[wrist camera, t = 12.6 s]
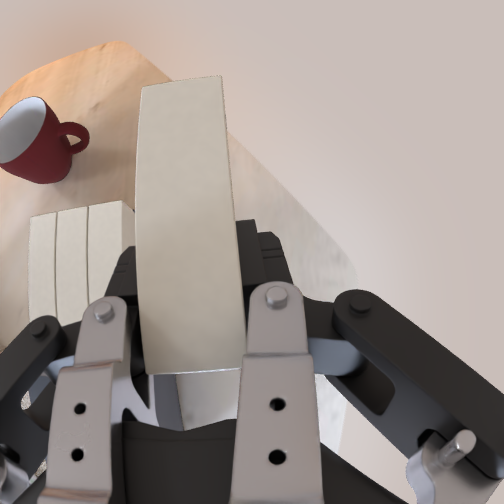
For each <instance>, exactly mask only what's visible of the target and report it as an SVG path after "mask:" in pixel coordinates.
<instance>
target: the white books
mask: <svg viewBox="0 0 504 504" xmlns="http://www.w3.org/2000/svg"><path fill="white" fill-rule="evenodd" d="M129 246H135V210H132V209H131V208H130V207H129V206H128V205H127V204H126V203H125V202H124V201H123V200H119V201H113V202H107V203H101V204H95V205H90V206H89V207H88V206H84V207H78V208H73V209H67V210H62V211H58V212H52V213H47V214H42V215H37V216H32V217H31V221H30V234H29V255H28V299H29V319H30V322H32V321H33V320H34V319H36V318H38V317H40V316H44V315H52V316H54V317H56V318H57V319H58V321H59V323H60V324H61V326H65V325H68V324H71V323H75V322H78V321H81V320H82V317H83V314H84V311H85V310H86V308H87V307H88V306H89V305H90V304H91V303H93V302H94V301H96V300H98V299H100V298H103V297H104V294H105V292H106V289H107V286H108V284H109V281H110V279H111V276H112V274H113V271H114V269H115V266H117V265H116V264H117V261H118V259H119V257H120V255H121V254H122V253H123V252H124V251H125V250H126V249H127V248H128V247H129Z"/></svg>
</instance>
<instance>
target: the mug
mask: <svg viewBox="0 0 504 504" xmlns="http://www.w3.org/2000/svg"><path fill="white" fill-rule="evenodd" d="M66 135H74V136H77V137H79V138H80V139H81V141H80V142H78V143H76V144H74V145H72V146H71V145H70V142H69V140H68V138H67V136H66ZM89 139H90V137H89V133H88V130H87V129H86V128H85V127H84V126H82V125H80V124H78V123H75V122H64V123H60V122H59V120H58V118H57V116H56V115H55V113H54V112H53V110H52V109H51V108H50V107H49V106H48V105H47V103H46V102H45V101H44V100H43V99H42V98H40V97H28V98H25V99H23V100H21V101H19V102H18V103H16V104H15V105H14V106H12V107H11V108H10V109H9V110H8V111H7V112H6V113H5V114H4V115H3V117H2V118H1V119H0V167H1V168H3V169H4V170H5V171H7V172H9V173H11V174H13V175H15V176H18V177H21V178H23V179H26V180H29V181H31V182H34V183H38V184H48V183H54V182H58V181H60V180H62V179H63V178H64V177H65V176H66V175H67V174H68V172H69V170H70V168H71V163H72V155H73V154H76V153H79V152H81V151H83V150H84V149H85V148H86V147H87V146H88V144H89Z"/></svg>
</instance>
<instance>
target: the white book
mask: <svg viewBox="0 0 504 504" xmlns="http://www.w3.org/2000/svg"><path fill="white" fill-rule="evenodd" d="M135 245H136V272H137V289H138V304H139V316H140V327H141V337H142V346H143V355H144V363H145V371H146V374H148V375H155V374H182V373H199V372H214V371H226V370H237V369H241V365H242V357H243V354H246V346H247V327H246V318H245V309H244V299H243V290H242V281H241V271H240V262H239V252H238V242H237V232H236V222H235V212H234V202H233V192H232V181H231V171H230V160H229V150H228V139H227V127H226V115H225V105H224V94H223V84H222V76H210V77H202V78H194V79H187V80H180V81H173V82H167V83H161V84H155V85H150V86H144V87H142V91H141V101H140V112H139V124H138V138H137V155H136V181H135Z"/></svg>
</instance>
